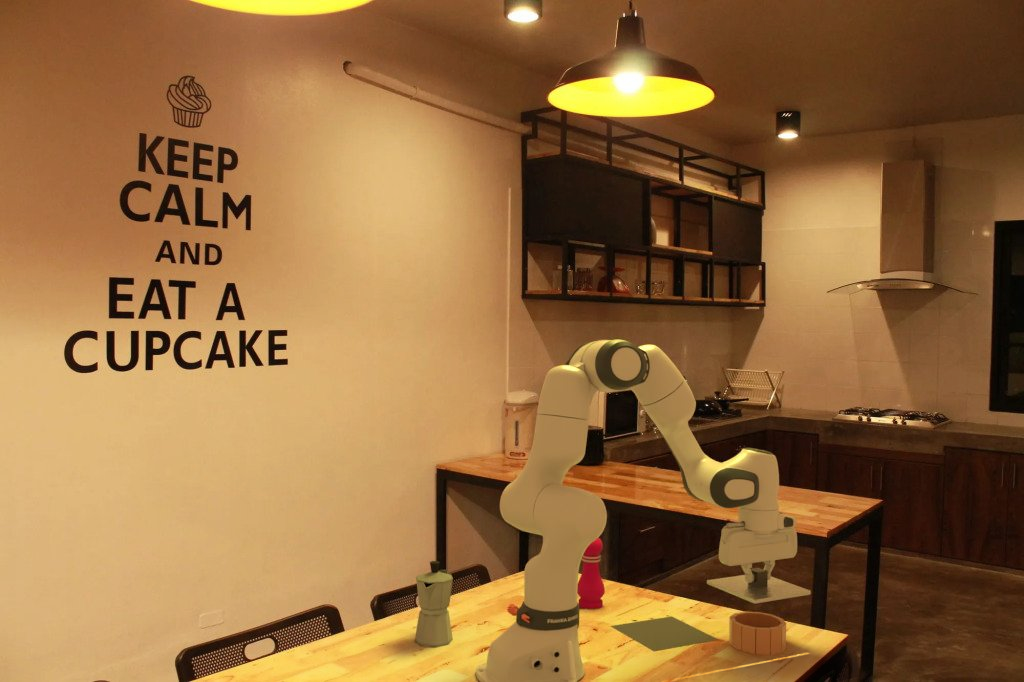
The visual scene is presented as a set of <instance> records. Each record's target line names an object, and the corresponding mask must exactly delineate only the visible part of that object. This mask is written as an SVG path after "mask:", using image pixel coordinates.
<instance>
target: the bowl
mask: <svg viewBox="0 0 1024 682" xmlns="http://www.w3.org/2000/svg"><path fill="white" fill-rule="evenodd" d="M728 620H729V623H728V624H729V626H728V630H729V632H728V633H729V635H728V637H729V639H728V642H729V644H730V646H731V647H733V648H735V649H736V650H739V651H741V652H744V653H749V654H752V655H765V656H766V655H767V656H769V655H777V654H781V653H783V652H784V651H785V650H786V649H787V622H786V621H785V620H784V618H781V617H780V616H777V615H775V614H772V613H765V612H762V611H761V612H759V611H739V612H734V613H733V614H731V615H730V616H729V619H728Z"/></svg>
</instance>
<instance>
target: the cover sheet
mask: <svg viewBox="0 0 1024 682" xmlns="http://www.w3.org/2000/svg"><path fill="white" fill-rule="evenodd" d="M750 569H751V572H752V574H755V575H756V577H755V582H751V583H749V582H746V581H745V574H742V575H741V574H740V575H735V576H728V577H721V578H714V579H707V580H706V584H707V585H709V586H712V587H713V588H716V589H719V590H721V591H723V592H725V593H728V594H731V595H734V596H736V597H737V598H740V599H742V600H744V601H748V602H750V603H752V604H760V603H766V602H767V603H768V602H771V601H772V602H773V601H778V600H785V599H791V598H797V597H802V596H809V595H810V596H811V593H812V592H811V589H807V588H804V587H801V586H799V585H796V584H793V583H790V582H788V581H784V580H782V579H779V578H777V577H774V576H771V579H770V580H768V571H766V570H763V569H764V568H761V567H754V568H753V567H752V568H750Z"/></svg>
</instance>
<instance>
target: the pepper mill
mask: <svg viewBox="0 0 1024 682" xmlns="http://www.w3.org/2000/svg"><path fill="white" fill-rule="evenodd" d="M603 547H604V545H603V541H602V539H601V538H599V537H598V538H597V539H596V540H595V541H593V542H592V543H591V544H590V545H589V546H588V547H587V548H586V550H585V552H584V554H583V556H582V559H581V562H583V563H582V572H581V575H580V578H578V590H577V596H579V597H580V598H578V604H579V609H581V610H585V609H587V610H597V609H601V608H603V605H604V603H603V602H604V601H603V599H602V597H604V595H605V592H606V591H605V584H604V581H603V579H602V577H601V574H600V567H599V565H600V561H601V560H602V559H601V557H602V555H601V552H602V551H603Z"/></svg>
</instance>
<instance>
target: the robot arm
mask: <svg viewBox="0 0 1024 682" xmlns="http://www.w3.org/2000/svg"><path fill="white" fill-rule="evenodd" d="M674 363H675V362H673V361H672V360H671V359H670V358H669V356H668V355H667V354H666V352H664V351H663V350H662V348H660V347H659V346H657V345H655V344H643V345H639V346H637V345H636V344H635V343H632V342H630V341H627V340H623V339H619V338H618V339H612V340H611V339H599V340H595V341H591V342H585V343H584V344H581V345H580V346H578V347H577V348H576V349H574V350H573V351H572V353H571V354H570V356H569V358H568V360H567V362H566V363H565V364H561V365H557V366H554V367H552V368H551V369H550V370H549V371H547V373H546V375H545V378H544V381H543V384H542V388H541V390H540V395H539V399H538V404H537V411H536V418H535V426H534V432H533V433H534V434H533V440H532V446H531V450H530V451H529V452H530V453H529V456H528V459H527V461H526V463H525V465H524V467H523V469H522V471H520V473H519V475H518V476H517V477H516V478H515V479H514V480H513V481H511V482H510V483H509V484H507V486H506V487H505V488H504V490H503V491H502V493H501V496H500V500H499V511H500V514H501V517H502V519H503V520H504V522H506V523H507V524H509V525H511V526H512V527H514V528H516V529H518V530H520V531H521V532H526V533H530V534H533V535H539V536H542V545H541V546H542V547H541V550H540V552H539V553H538V554H537V555H534V557H531V558H530V559H529V560H528V561H527V563H526V564H525V566H524V567H525V568H524V574H523V575H524V582H523V583H524V588H523V589H524V590H523V595H524V596H523V599H524V600H523V601H522V604H521V606H520V607H518V606H516V604H514V603H510V604H509V605H508V606H507V609H506V611H507V613H509V615H511V616H513V617H516V618H515V621H514V623H512V624H511V625H510V626H509V627H508V628H507V629H506V630H504V631H503V632H502V633H501V634H500V635H499V636H498V637H497V638H495V639H494V640H493V641H492V642H491V643H490V646H489V648H488V652H487V659H486V663H483V664H479V665H477V666H476V668H475V669H476V670H475V677H476V678H477V679H478V681H479V682H578V681H579V680H581V679H582V678H583V677H584V675H585V668H584V665H583V660H582V656H581V650H580V642H579V631H578V630H579V627H580V608H579V601H578V593H577V590H578V582H579V572H580V571H579V570H580V565H581V562H582V560H581V559H582V556H583V554H584V552H585V550H586V548H587V547H588V546H589V545H590V544H591V543H592V542H593V541H595V540H596V539H597V538H599V537H600V536H601V535H602V534H603V532H604V530H605V528H606V524H607V518H608V513H607V509H606V508H607V507H606V505H605V502H604V501H603V499H602V498H601V497H600V496H598V495H597V494H595V493H592V492H590V491H588V490H586V489H583V488H582V487H581V488H580V487H574V486H570V485H569V486H568V485H563V483H564V479H565V477H566V475H567V473H568V472H569V470H570V469H571V468H572V467H573V466H575V465H577V464H579V463H581V461H582V460H583V459H584V458H585V455H586V447H587V438H588V431H589V423H590V422H589V421H590V412H591V404H592V401H593V398H594V397H595V395H596V394H597V392H603V393H605V392H614V391H624V390H629V389H630V390H631V391H632V392H633V393H634V395H635V397H636V399H637V400H638V402H639V404H640V405H641V407H642V408H643V410H644V411H645V412H646V414H647V416H649V418H650V419H651V421H652V422H653V423H654V425H655V426H656V427H657V429H658V430H659V432H660V434H661V436H662V438H663V439H664V441H665V443H666V445H667V447H668V448H669V450H670V452H671V453H672V455H673V457H674V459H675V461H676V463H677V464H678V467H679V469H680V473H681V479H682V480H681V481H682V485H683V488H684V490H685V491H686V493H687V494H688V495H689V496H690V497H691V498H693V499H695V500H697V501H702V502H706V503H708V504H710V505H714V506H716V507H719V508H722V509H734V508H735V509H736V508H738V509H737V510H738V511H737V512H738V514H737V516H738V521H736V522H728V523H725V524H726V525H724V526H723V528H722V529H721V532H720V533H721V534H720V535H721V536H720V541H719V548H718V560H719V562H720V563H722V564H723V565H726V566H728V567H733V566H740V567H741V569H742V571H743V573H744V575H745V581H746V582H749V583H751V582H755V577H756V575H755V574H752V572H751V569H753V564H755V563H761V562H762V563H763V564H764V567H763V568H762V569H763V570H766V571H768V580H770V579H771V577H772V574H771V573H772V571H773V569H774V567H775V565H776V560H784V559H786V560H787V559H791V558H792V559H793V558H794V557H795V556H796V555H797V552H798V534H797V530H796V529H795V527H797V519H796V517H794V516H790V515H787V514H783V512H780V507H779V505H780V504H779V502H778V494H779V490H780V473H779V466H778V465H779V464H778V460H777V456H776V455H775V454H773V452H771V451H768V450H764V449H759V448H753V447H744V448H742V449H741V451H740V452H738V453H737V454H736V455H734V456H733V457H731V458H730V459H727V460H726V461H723V462H721V461H720V462H719V461H716V460H715V459H712V458H711V457H709V456H708V455H706V453H704V451H703V450H702V448H701V446H700V444H699V443H698V440H696V437H695V435H694V434H693V432H692V430H691V428H690V426H689V421H690V420H691V418H692V417H693V416H694V413H695V411H696V407H697V402H696V399H695V395H694V394H693V391H692V389H691V387H690V386H689V384H688V383H687V380H686V379H685V378H684V376H683V375H682V372H681V371H680V370H679V369H678V368H677V366H676V365H675V364H674Z"/></svg>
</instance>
